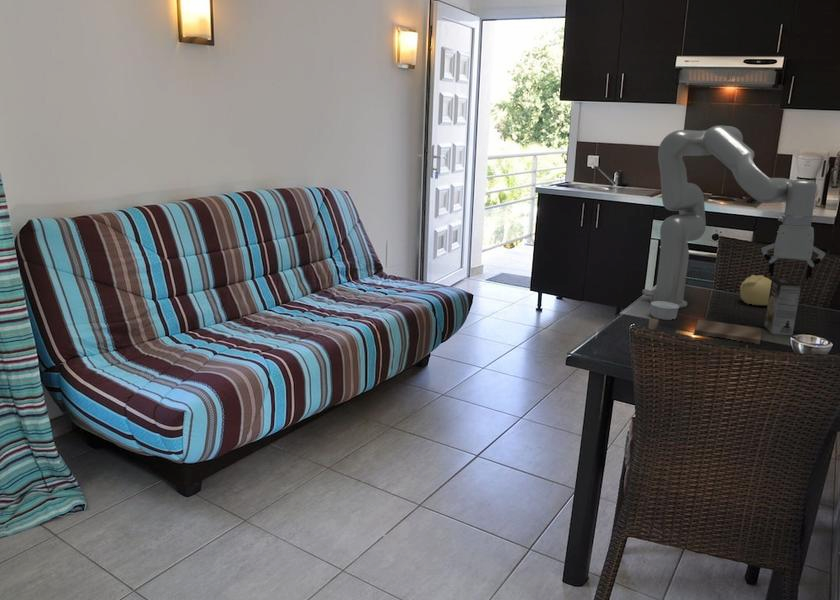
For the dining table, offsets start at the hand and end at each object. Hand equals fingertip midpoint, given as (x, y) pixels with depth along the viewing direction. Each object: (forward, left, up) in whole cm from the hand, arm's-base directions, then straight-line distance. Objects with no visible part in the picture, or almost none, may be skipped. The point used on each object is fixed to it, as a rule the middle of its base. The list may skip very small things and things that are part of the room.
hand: (789, 277), depth 213 cm
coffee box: (-1, 0, -18) cm, 17 cm away
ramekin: (-34, -3, -18) cm, 39 cm away
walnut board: (-14, -13, -17) cm, 26 cm away
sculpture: (-8, +36, -18) cm, 41 cm away
